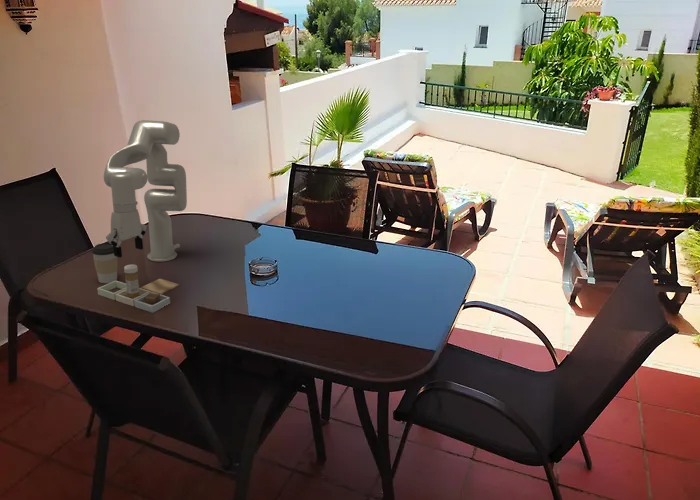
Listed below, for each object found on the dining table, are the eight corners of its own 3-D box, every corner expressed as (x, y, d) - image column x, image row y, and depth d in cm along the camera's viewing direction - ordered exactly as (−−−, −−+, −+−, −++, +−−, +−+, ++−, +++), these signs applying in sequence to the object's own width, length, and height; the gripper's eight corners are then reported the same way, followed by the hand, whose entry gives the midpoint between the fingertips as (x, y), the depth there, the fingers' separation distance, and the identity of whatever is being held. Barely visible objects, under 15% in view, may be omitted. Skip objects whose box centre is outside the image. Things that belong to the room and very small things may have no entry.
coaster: (159, 279, 212) (159, 278, 212) (178, 285, 209) (178, 284, 208) (141, 288, 204) (141, 287, 204) (160, 294, 200) (160, 293, 200)
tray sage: (116, 286, 204) (115, 280, 203) (132, 291, 201) (131, 285, 200) (98, 294, 197) (97, 288, 196) (114, 300, 194) (113, 293, 193)
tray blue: (152, 298, 197) (152, 291, 196) (170, 303, 194) (169, 297, 193) (135, 306, 190) (134, 300, 189) (152, 312, 186) (152, 306, 185)
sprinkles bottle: (140, 295, 198) (137, 263, 193) (140, 301, 194) (137, 268, 189) (127, 297, 196) (124, 264, 192) (127, 302, 193) (123, 269, 188)
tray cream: (134, 292, 201) (133, 286, 200) (150, 297, 197) (150, 291, 196) (116, 300, 193) (115, 294, 192) (133, 306, 190) (132, 299, 189)
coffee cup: (110, 285, 204) (107, 250, 199) (90, 282, 206) (86, 247, 201) (124, 276, 213) (121, 242, 207) (104, 273, 214) (101, 239, 209)
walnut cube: (150, 302, 194) (149, 292, 192) (160, 304, 193) (159, 294, 192) (144, 307, 190) (144, 297, 189) (154, 308, 190) (154, 298, 188)
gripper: (136, 200, 191) (139, 244, 197) (96, 210, 176) (101, 257, 182) (151, 203, 188) (154, 248, 194) (112, 214, 173) (117, 262, 179)
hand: (128, 252), depth 188 cm, fingers open, 9 cm apart
